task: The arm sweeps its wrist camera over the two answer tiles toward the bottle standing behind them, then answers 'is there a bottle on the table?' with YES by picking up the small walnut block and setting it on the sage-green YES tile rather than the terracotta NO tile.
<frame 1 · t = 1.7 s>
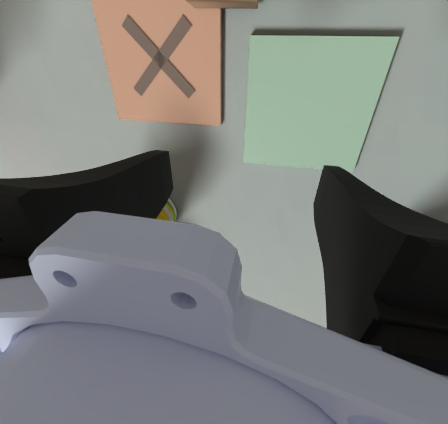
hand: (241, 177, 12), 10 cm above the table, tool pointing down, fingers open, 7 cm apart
no tile: (162, 59, 19), on the table
yes tile: (306, 109, 19), on the table
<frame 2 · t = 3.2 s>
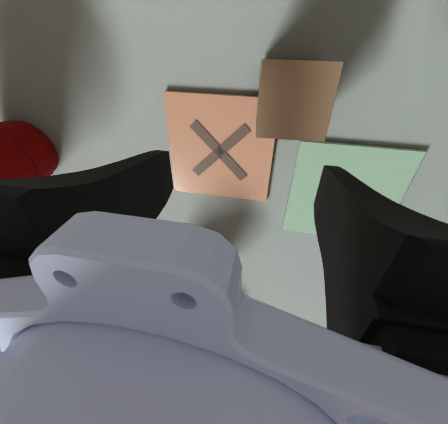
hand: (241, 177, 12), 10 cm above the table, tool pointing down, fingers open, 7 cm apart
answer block: (286, 93, 18), on the table, tilted 7°, touching no tile
no tile: (220, 149, 22), on the table
yes tile: (342, 194, 22), on the table
plastic cup: (34, 149, 26), on the table
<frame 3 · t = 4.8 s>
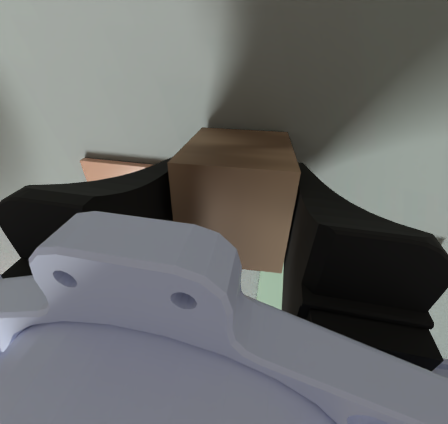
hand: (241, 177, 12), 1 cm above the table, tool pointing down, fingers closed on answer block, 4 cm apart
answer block: (241, 170, 13), on the table, tilted 6°, touching gripper, no tile
no tile: (166, 227, 17), on the table
yes tile: (327, 283, 17), on the table
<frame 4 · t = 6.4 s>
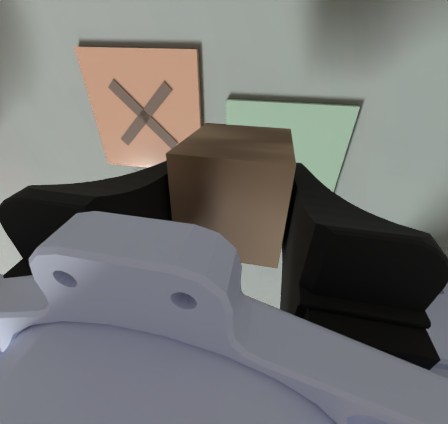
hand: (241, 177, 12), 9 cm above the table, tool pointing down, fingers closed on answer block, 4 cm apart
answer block: (244, 166, 13), point 7 cm above the table, tilted 6°, touching gripper
no tile: (147, 114, 20), on the table
yes tile: (281, 161, 20), on the table
when the fingers open (3 cm above the table, at t = 8.2 s): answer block drops 1 cm, resting on yes tile.
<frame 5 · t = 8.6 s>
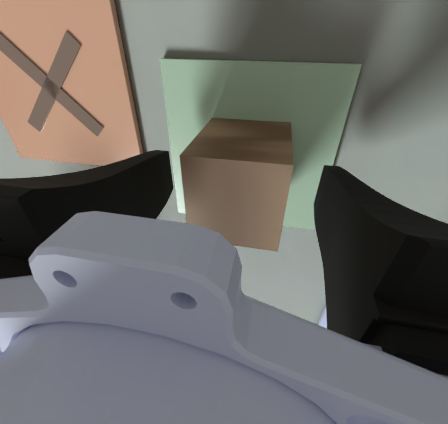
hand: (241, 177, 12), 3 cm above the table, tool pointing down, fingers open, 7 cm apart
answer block: (248, 157, 14), resting on yes tile
no tile: (57, 86, 14), on the table
yes tile: (248, 153, 14), on the table
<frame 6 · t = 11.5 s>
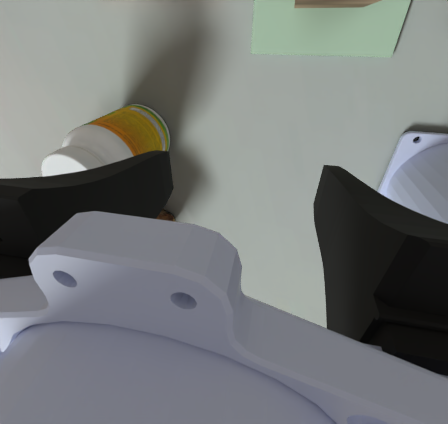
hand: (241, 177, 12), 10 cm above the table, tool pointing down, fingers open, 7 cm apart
supplement bottle: (145, 133, 23), on the table
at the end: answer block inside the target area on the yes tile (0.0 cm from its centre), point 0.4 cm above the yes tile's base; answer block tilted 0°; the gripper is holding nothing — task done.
